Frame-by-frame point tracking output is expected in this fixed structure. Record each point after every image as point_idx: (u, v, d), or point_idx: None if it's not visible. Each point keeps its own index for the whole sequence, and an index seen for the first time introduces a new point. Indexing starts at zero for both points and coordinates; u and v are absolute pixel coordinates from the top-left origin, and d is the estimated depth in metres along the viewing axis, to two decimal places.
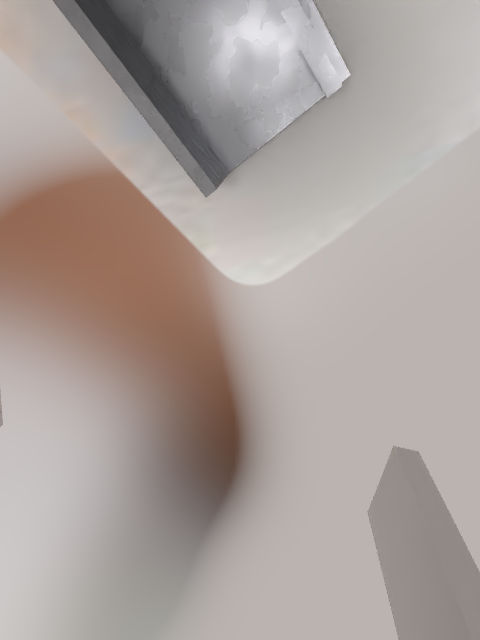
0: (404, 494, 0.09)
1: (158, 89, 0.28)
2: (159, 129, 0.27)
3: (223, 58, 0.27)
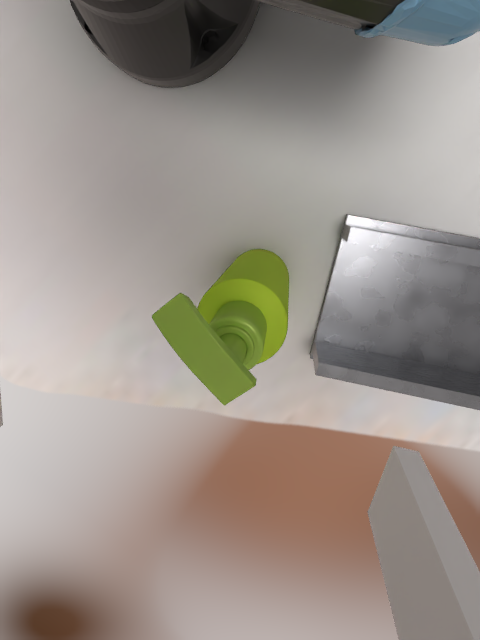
0: (404, 494, 0.09)
1: (469, 381, 0.32)
2: None
3: None
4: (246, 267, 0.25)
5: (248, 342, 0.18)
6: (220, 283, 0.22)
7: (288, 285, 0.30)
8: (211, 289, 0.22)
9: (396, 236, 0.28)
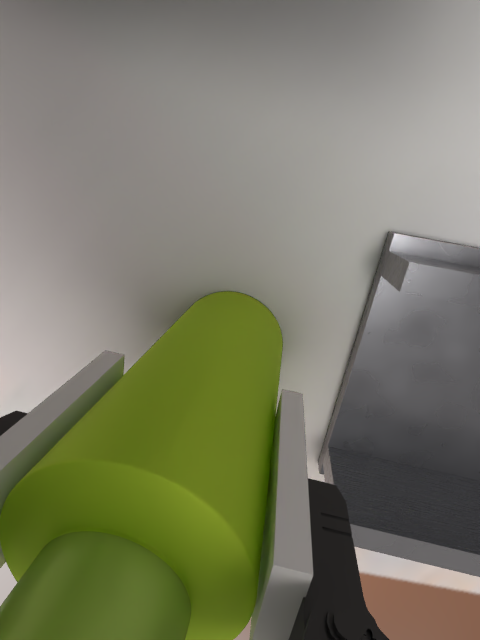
0: (278, 422, 0.11)
1: None
2: None
3: None
4: (166, 372, 0.10)
5: None
6: (48, 468, 0.07)
7: (278, 371, 0.15)
8: (26, 481, 0.07)
9: None
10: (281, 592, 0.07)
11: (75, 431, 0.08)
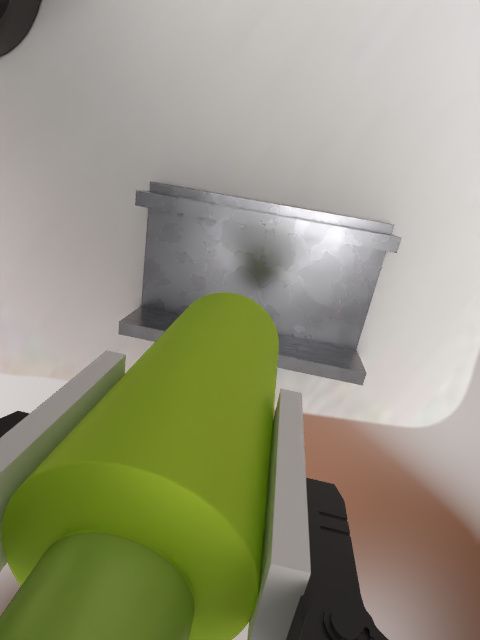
0: (277, 422, 0.11)
1: None
2: (295, 366, 0.31)
3: (298, 288, 0.33)
4: (166, 374, 0.10)
5: None
6: (51, 470, 0.07)
7: (275, 371, 0.16)
8: (28, 483, 0.07)
9: (177, 198, 0.29)
10: (279, 591, 0.07)
11: (76, 433, 0.08)
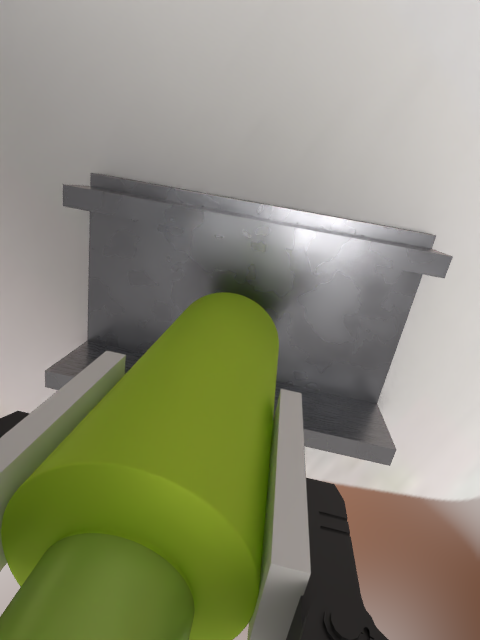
0: (277, 422, 0.11)
1: None
2: None
3: (298, 321, 0.24)
4: (166, 374, 0.10)
5: None
6: (51, 471, 0.07)
7: (275, 372, 0.16)
8: (28, 484, 0.07)
9: (122, 197, 0.20)
10: (279, 591, 0.07)
11: (76, 434, 0.08)
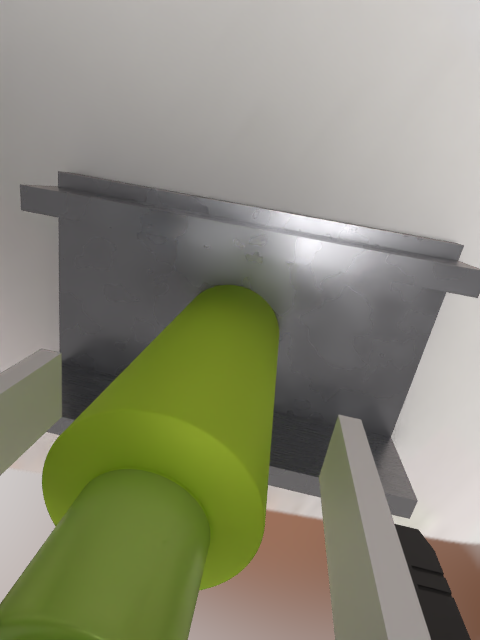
0: (341, 453, 0.10)
1: None
2: (295, 484, 0.18)
3: (300, 343, 0.21)
4: (180, 348, 0.11)
5: None
6: (89, 419, 0.08)
7: (276, 355, 0.17)
8: (69, 431, 0.09)
9: (90, 199, 0.17)
10: None
11: (106, 393, 0.10)
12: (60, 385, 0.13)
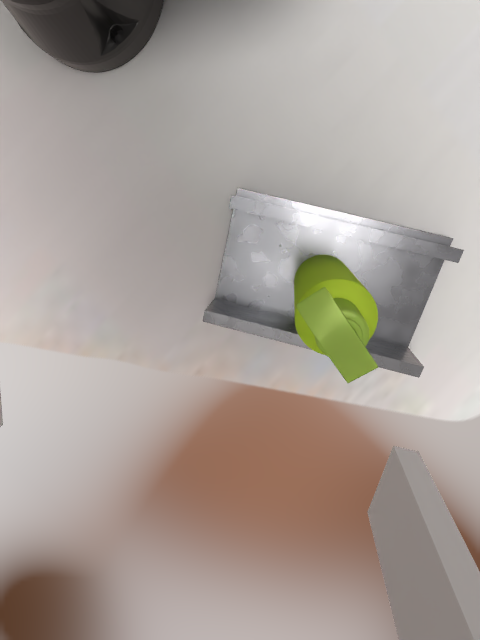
0: (403, 494, 0.09)
1: None
2: None
3: None
4: (334, 270, 0.28)
5: (358, 333, 0.22)
6: (322, 282, 0.25)
7: None
8: (313, 287, 0.25)
9: (268, 204, 0.33)
10: None
11: (318, 279, 0.26)
12: None
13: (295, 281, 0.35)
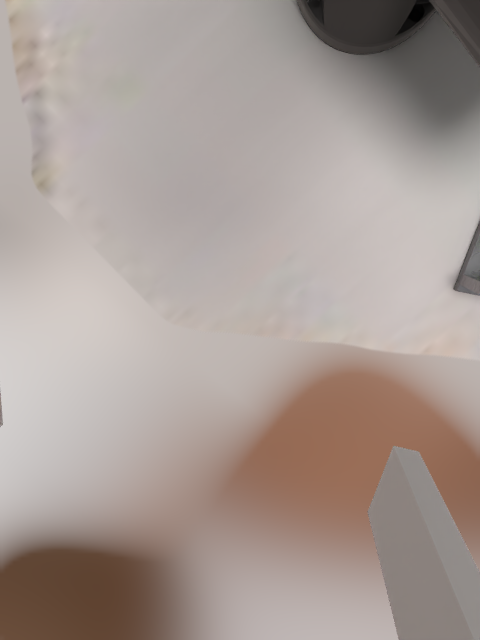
0: (404, 494, 0.09)
1: None
2: None
3: None
4: None
5: None
6: None
7: None
8: None
9: None
10: None
11: None
12: None
13: None
